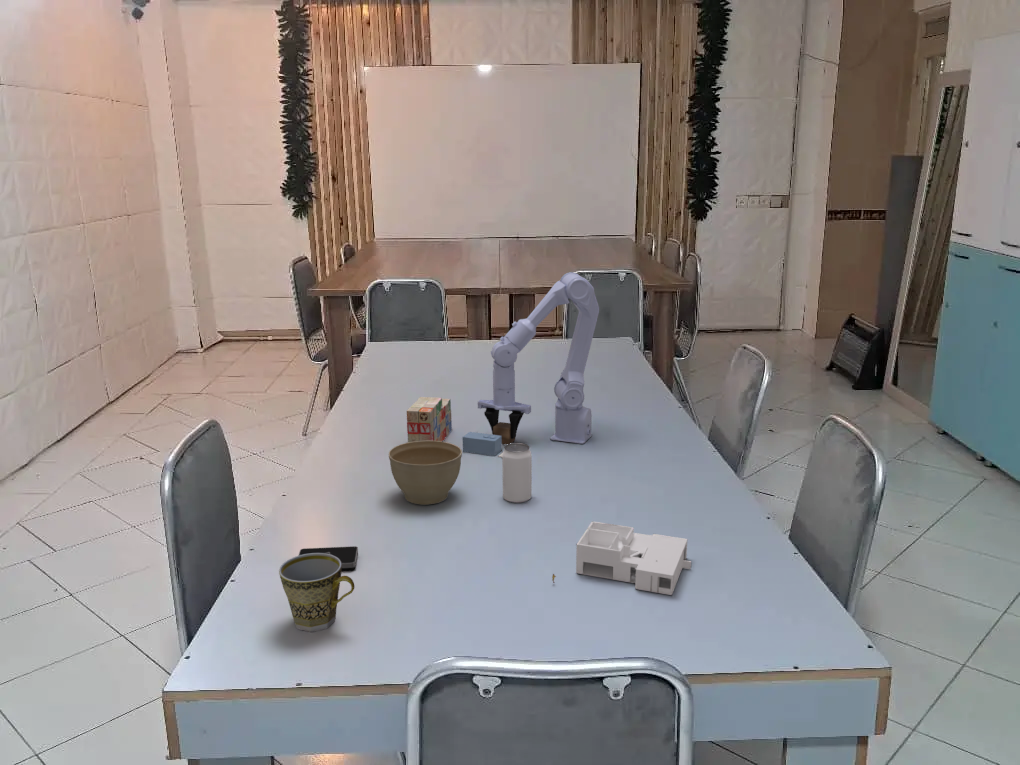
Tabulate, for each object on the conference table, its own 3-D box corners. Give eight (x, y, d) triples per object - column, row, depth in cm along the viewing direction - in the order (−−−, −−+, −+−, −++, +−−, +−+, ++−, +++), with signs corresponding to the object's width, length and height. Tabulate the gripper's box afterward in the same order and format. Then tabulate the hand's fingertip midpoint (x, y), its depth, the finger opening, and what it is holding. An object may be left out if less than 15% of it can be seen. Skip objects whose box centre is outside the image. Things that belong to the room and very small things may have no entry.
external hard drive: (355, 572, 158) (355, 562, 157) (295, 575, 157) (294, 565, 156) (358, 555, 164) (358, 546, 164) (300, 558, 163) (299, 548, 163)
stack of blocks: (430, 429, 237) (429, 387, 234) (452, 430, 236) (451, 388, 232) (407, 455, 217) (406, 409, 213) (431, 457, 215) (430, 411, 212)
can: (510, 505, 186) (510, 454, 183) (497, 495, 191) (497, 445, 188) (536, 500, 189) (536, 449, 185) (522, 490, 194) (522, 440, 191)
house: (552, 584, 152) (552, 554, 151) (580, 541, 169) (581, 513, 167) (677, 606, 145) (678, 575, 143) (694, 559, 161) (696, 530, 160)
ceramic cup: (271, 630, 138) (266, 575, 135) (306, 601, 147) (302, 548, 144) (340, 646, 134) (336, 589, 131) (372, 615, 143) (369, 561, 140)
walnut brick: (515, 439, 228) (515, 423, 226) (509, 445, 224) (509, 428, 222) (499, 437, 229) (499, 422, 228) (493, 443, 225) (493, 426, 224)
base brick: (501, 450, 220) (501, 434, 219) (494, 456, 216) (494, 440, 214) (470, 446, 223) (469, 430, 222) (462, 451, 219) (462, 435, 218)
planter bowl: (466, 509, 184) (465, 462, 181) (391, 514, 182) (389, 466, 179) (458, 481, 199) (457, 437, 197) (389, 486, 197) (387, 441, 194)
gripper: (472, 388, 221) (473, 437, 225) (524, 394, 216) (524, 444, 220) (483, 381, 228) (484, 429, 231) (534, 386, 223) (533, 436, 226)
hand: (504, 436), depth 226 cm, fingers closed on walnut brick, 4 cm apart
